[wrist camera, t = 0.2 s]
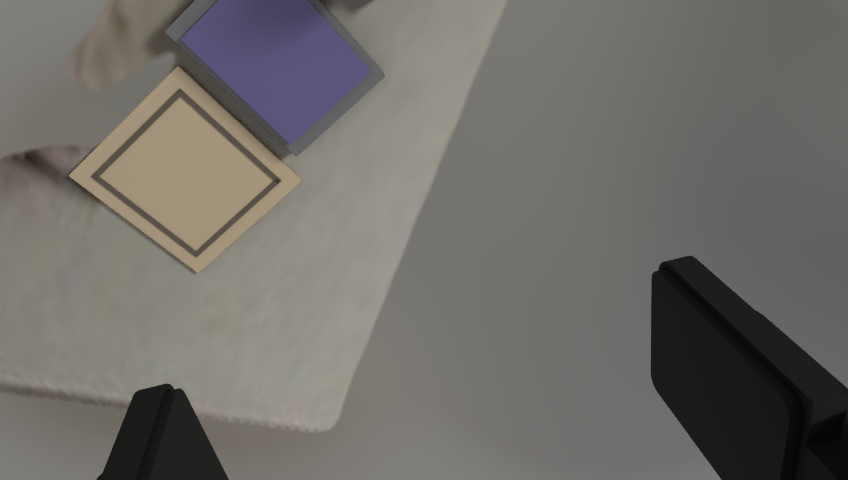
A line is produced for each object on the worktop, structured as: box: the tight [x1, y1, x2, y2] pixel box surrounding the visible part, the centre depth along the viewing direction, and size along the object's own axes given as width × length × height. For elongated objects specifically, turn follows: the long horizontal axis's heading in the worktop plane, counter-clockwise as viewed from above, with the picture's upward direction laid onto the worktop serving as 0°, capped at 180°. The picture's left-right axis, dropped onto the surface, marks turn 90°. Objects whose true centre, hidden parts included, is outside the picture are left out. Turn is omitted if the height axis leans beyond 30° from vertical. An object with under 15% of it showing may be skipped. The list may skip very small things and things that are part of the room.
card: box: [69, 65, 302, 273], centre depth 46 cm, size 12×12×1 cm
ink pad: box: [165, 0, 385, 157], centre depth 42 cm, size 12×9×2 cm
